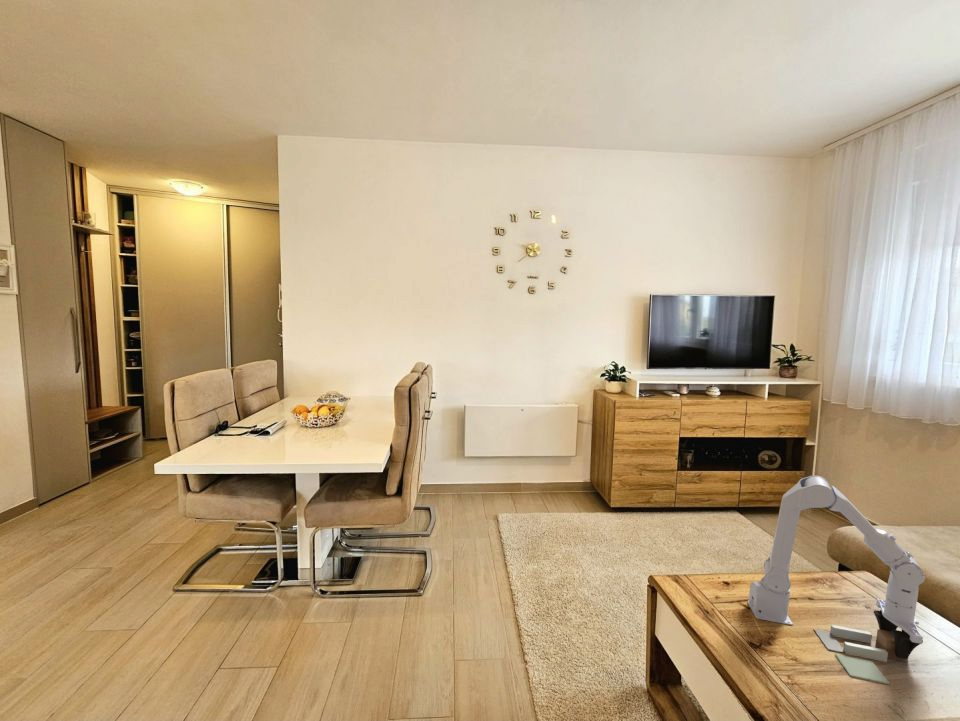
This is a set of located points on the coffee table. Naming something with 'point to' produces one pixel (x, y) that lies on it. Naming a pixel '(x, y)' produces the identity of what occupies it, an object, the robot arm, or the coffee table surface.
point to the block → (887, 643)
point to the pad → (862, 669)
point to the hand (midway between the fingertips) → (893, 649)
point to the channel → (851, 647)
